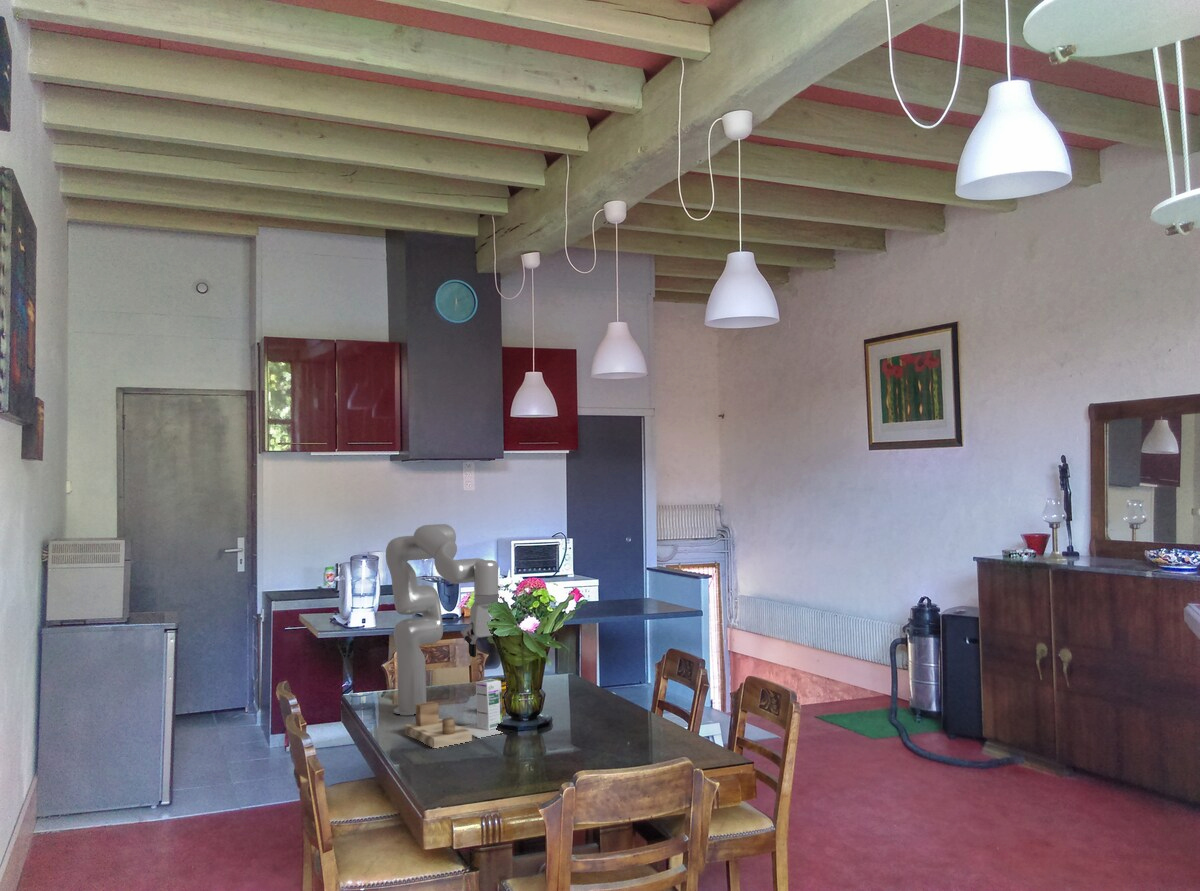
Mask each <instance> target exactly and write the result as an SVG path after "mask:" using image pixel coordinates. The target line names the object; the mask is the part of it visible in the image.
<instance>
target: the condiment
mask: <svg viewBox="0 0 1200 891" xmlns="http://www.w3.org/2000/svg"><path fill="white" fill-rule="evenodd" d="M505 678H506V677H503V676H497V677H492V678H491V679H497V680H500V681H501V695H502V715H503V717H505V716H504V715H506V711H505V706H504V698H503V697H504V693H505V691H506V685H507V684H506V683H507V681H506V682H505Z"/></svg>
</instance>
